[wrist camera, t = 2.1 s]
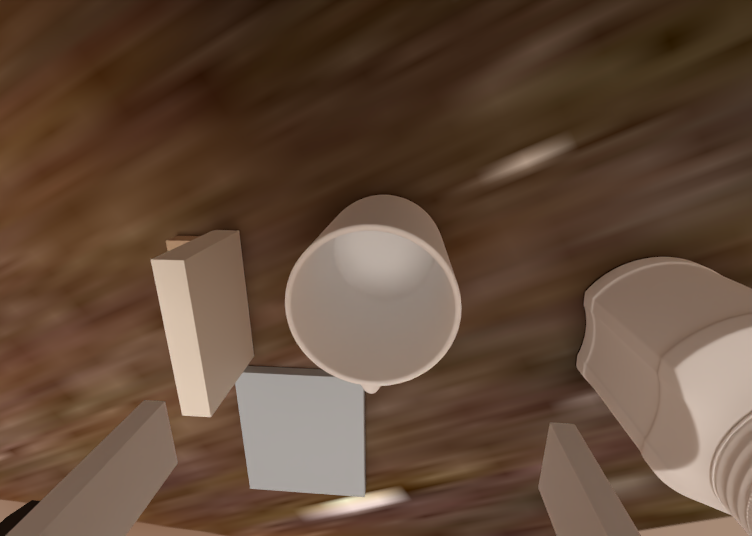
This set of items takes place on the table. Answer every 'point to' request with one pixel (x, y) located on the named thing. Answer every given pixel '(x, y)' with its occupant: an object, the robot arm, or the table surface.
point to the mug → (375, 294)
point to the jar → (677, 374)
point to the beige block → (204, 316)
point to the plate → (302, 431)
